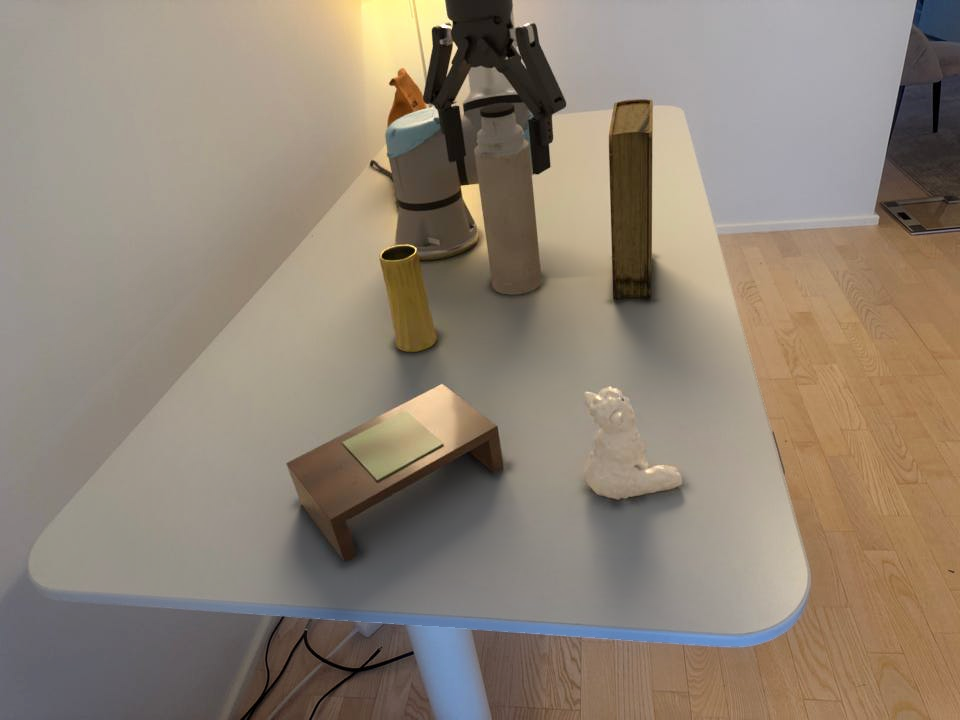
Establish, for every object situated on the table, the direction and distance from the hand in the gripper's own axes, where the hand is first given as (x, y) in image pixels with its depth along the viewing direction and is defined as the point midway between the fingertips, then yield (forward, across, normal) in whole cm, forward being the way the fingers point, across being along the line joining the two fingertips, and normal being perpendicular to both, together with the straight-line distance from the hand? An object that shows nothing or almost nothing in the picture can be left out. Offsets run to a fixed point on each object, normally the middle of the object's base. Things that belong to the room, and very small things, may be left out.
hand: (497, 164), depth 91 cm
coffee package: (+25, -64, +46) cm, 83 cm away
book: (+25, +8, +20) cm, 33 cm away
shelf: (+24, +9, -33) cm, 42 cm away
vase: (+24, -11, -10) cm, 29 cm away
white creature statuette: (+24, +29, -20) cm, 43 cm away
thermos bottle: (+25, -8, +11) cm, 28 cm away
